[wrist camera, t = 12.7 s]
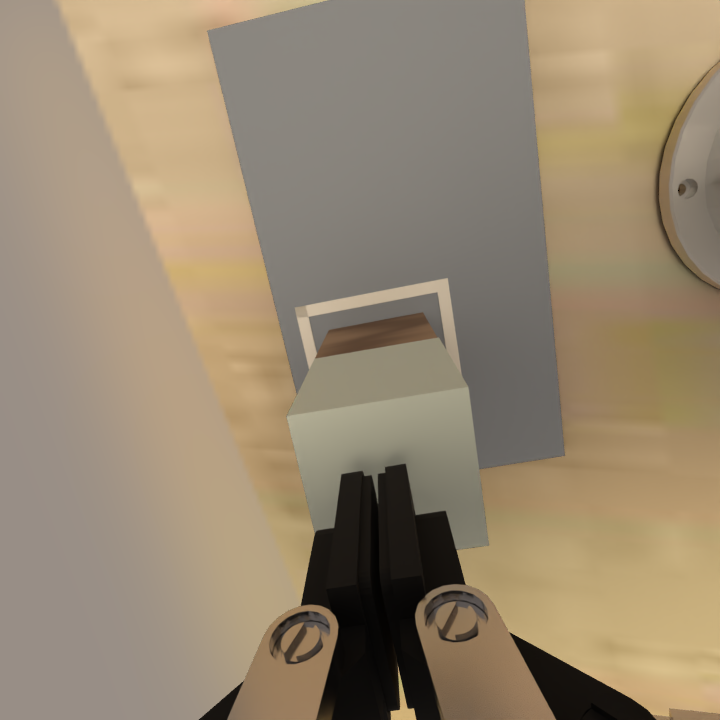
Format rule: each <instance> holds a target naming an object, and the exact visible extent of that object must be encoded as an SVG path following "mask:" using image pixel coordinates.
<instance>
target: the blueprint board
mask: <svg viewBox="0 0 720 720" xmlns="http://www.w3.org/2000/svg"><path fill="white" fill-rule="evenodd" d="M207 32H208V36H209V40H210V44H211V48H212V52H213V56H214V60H215V64H216V69H217V73H218V77H219V81H220V85H221V89H222V93H223V97H224V101H225V105H226V109H227V113H228V117H229V121H230V125H231V129H232V133H233V137H234V141H235V145H236V150H237V154H238V158H239V162H240V166H241V170H242V174H243V178H244V182H245V186H246V190H247V194H248V198H249V202H250V206H251V210H252V214H253V218H254V222H255V226H256V230H257V235H258V239H259V243H260V247H261V251H262V255H263V259H264V263H265V267H266V271H267V275H268V279H269V283H270V287H271V291H272V295H273V299H274V303H275V307H276V311H277V316H278V320H279V324H280V328H281V332H282V336H283V340H284V344H285V348H286V352H287V356H288V360H289V364H290V368H291V372H292V376H293V380H294V384H295V388H296V392H297V394H298V392H299V390H300V388H301V386H302V384H303V381H304V379H305V377H306V375H307V373H308V371H309V369H310V367H311V365H312V363H313V361H314V359H315V357H316V355H317V353H318V351H319V349H320V347H321V345H322V343H323V341H324V339H325V337H326V335H327V333H328V331H329V330H331V329H336V328H342V327H347V326H352V325H358V324H363V323H368V322H374V321H379V320H384V319H390V318H395V317H400V316H405V315H411V314H416V313H421V312H423V313H424V315H425V317H426V319H427V320H428V322H429V324H430V326H431V327H432V329H433V331H434V332H435V334H436V336H437V338H438V337H439V338H440V340H441V342H442V343H443V345H444V347H445V349H446V350H447V352H448V354H449V355H450V357H451V359H452V360H453V362H454V364H455V365H456V367H457V369H458V370H459V372H460V374H461V375H462V377H463V379H464V380H465V382H466V384H467V385H468V388H469V395H470V403H471V411H472V418H473V426H474V434H475V441H476V449H477V457H478V465H479V469H484V468H490V467H496V466H503V465H509V464H515V463H522V462H528V461H534V460H541V459H547V458H554V457H560V456H565V452H564V441H563V430H562V418H561V407H560V396H559V385H558V373H557V362H556V351H555V340H554V328H553V317H552V306H551V294H550V283H549V272H548V261H547V249H546V238H545V227H544V216H543V204H542V193H541V182H540V171H539V159H538V148H537V137H536V125H535V114H534V103H533V92H532V80H531V69H530V58H529V47H528V35H527V24H526V13H525V1H524V0H328V1H324V2H320V3H316V4H312V5H308V6H304V7H300V8H296V9H292V10H288V11H284V12H280V13H276V14H272V15H268V16H264V17H260V18H256V19H252V20H248V21H244V22H240V23H236V24H232V25H228V26H224V27H220V28H216V29H212V30H208V31H207Z"/></svg>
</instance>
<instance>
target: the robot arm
mask: <svg viewBox="0 0 720 720" xmlns="http://www.w3.org/2000/svg"><path fill="white" fill-rule="evenodd" d="M679 187H680V193H678V188H679ZM659 203H660V209H661V214H662V220H663V225H664V227H665V230H666V232H667V235H668V237H669V240H670V242H671V245H672V247H673V248H674V250H675V251H676V253H677V254H678V255H679V257H680V258H681V260H682V261H683V263H684V264H685V265H686V266H687V267H688V268H689V269H690V270H691V271H693V272H694V273H695V274H696V275H697V276H698V277H699V278H700V279H702V280H704V281H705V282H707V283H709V284H711V285H712V286H714V287H716V288H718V289H720V62H719V63H717V64H716V65H715V66H714V67H713V68H712V69H711V70H710V71H709V72H708V73H707V75H706V76H705V77H704V78H703V80H702V81H701V82H700V83H699V85H698V86H697V87H696V88H695V89H694V91H693V92H692V93H691V95H690V96H689V98H688V100H687V101H686V103H685V105H684V107H683V108H682V110H681V112H680V113H679V115H678V117H677V119H676V120H675V123H674V126H673V128H672V131H671V133H670V136H669V138H668V141H667V144H666V146H665V150H664V155H663V160H662V165H661V170H660V179H659ZM397 662H398V663H397ZM398 667H399V671H400V676H401V680H402V685H403V690H404V694H405V699H406V703H407V707H408V709H411V708H414V710H415V715H416V719H417V720H720V714H717V713H707V712H698V711H689V710H679V709H670V708H669V716H670V717H666V716H657V715H652V714H651V713H650V712H649V711H648V710H647V709H645V708H644V707H643V706H641V705H640V704H638V703H637V702H635V701H634V700H632V699H631V698H629V697H627V696H626V695H624V694H622V693H620V692H618V691H616V690H615V689H613V688H611V687H609V686H607V685H605V684H603V683H602V682H600V681H598V680H596V679H594V678H592V677H591V676H589V675H587V674H585V673H583V672H581V671H580V670H578V669H576V668H574V667H572V666H570V665H569V664H567V663H565V662H563V661H561V660H559V659H558V658H556V657H554V656H552V655H550V654H548V653H547V652H545V651H543V650H541V649H539V648H537V647H536V646H534V645H532V644H530V643H528V642H526V641H525V640H523V639H521V638H519V637H517V636H515V635H513V634H512V633H510V632H509V631H508V629H507V627H506V625H505V624H504V622H503V620H502V618H501V616H500V614H499V612H498V610H497V609H496V607H495V605H494V603H493V602H492V601H491V600H490V598H489V597H488V596H487V595H486V594H484V593H483V592H481V591H480V590H479V589H476V588H473V587H470V586H468V585H465V581H464V577H463V573H462V570H461V566H460V562H459V558H458V555H457V551H456V547H455V543H454V539H453V536H452V532H451V528H450V524H449V520H448V517H447V513H446V511H439V512H432V513H426V514H419V515H416V514H415V509H414V503H413V498H412V493H411V488H410V482H409V477H408V472H407V467H406V464H400V465H394V466H388V467H385V473H380V474H378V501H377V497H376V492H375V487H374V482H373V478H372V475H368V476H364V473H363V471H357V472H351V473H345V474H341V480H340V487H339V495H338V502H337V510H336V517H335V525H334V528H329V529H323V530H317V531H316V533H315V536H314V541H313V546H312V551H311V556H310V562H309V567H308V572H307V577H306V582H305V587H304V592H303V598H302V603H301V606H299V607H297V608H294V609H291V610H289V611H287V612H286V613H284V614H282V615H281V616H279V617H278V618H277V619H276V620H275V621H274V622H273V623H272V624H271V625H270V626H269V628H268V629H267V631H266V633H265V634H264V636H263V638H262V641H261V643H260V645H259V647H258V650H257V652H256V654H255V656H254V659H253V661H252V664H251V666H250V668H249V670H248V673H247V675H246V677H245V679H244V681H243V682H242V683H241V684H240V685H238V686H237V687H236V688H235V689H234V690H233V691H231V692H230V693H229V694H228V695H227V696H226V697H225V698H223V699H222V700H221V701H220V702H219V703H218V704H216V706H214V707H213V708H212V709H211V710H210V711H209V712H207V713H206V714H205V715H204V716H203V717H202V718H200V719H199V720H391V712H390V711H394V710H399V709H400V698H399V681H398Z"/></svg>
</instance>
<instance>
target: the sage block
mask: <svg viewBox="0 0 720 720" xmlns="http://www.w3.org/2000/svg"><path fill="white" fill-rule="evenodd" d="M286 417H287V421H288V425H289V429H290V433H291V437H292V441H293V446H294V450H295V454H296V458H297V462H298V466H299V470H300V474H301V478H302V482H303V487H304V491H305V495H306V499H307V503H308V507H309V511H310V515H311V519H312V524H313V528H314V532H315V533H316V531H317V530H323V529H329V528H334V525H335V517H336V510H337V502H338V495H339V487H340V480H341V474H345V473H351V472H357V471H363V473H364V476H368V475H372V478H373V482H374V487H375V492H376V497H377V501H378V474H380V473H385V467H388V466H394V465H400V464H406V467H407V472H408V477H409V482H410V488H411V493H412V498H413V503H414V509H415V514H416V515H419V514H426V513H432V512H439V511H446V513H447V517H448V520H449V524H450V528H451V532H452V536H453V539H454V543H455V547H456V550H459V549H467V548H474V547H482V546H489V541H488V534H487V526H486V518H485V511H484V503H483V495H482V488H481V480H480V472H479V465H478V457H477V449H476V441H475V434H474V426H473V418H472V411H471V403H470V395H469V388H468V385H467V384H466V382H465V380H464V379H463V377H462V375H461V374H460V372H459V370H458V369H457V367H456V365H455V364H454V362H453V360H452V359H451V357H450V355H449V354H448V352H447V350H446V349H445V347H444V345H443V343H442V342H441V340H440V338H439V337H438V338H432V339H426V340H421V341H415V342H409V343H403V344H397V345H391V346H386V347H380V348H374V349H368V350H362V351H356V352H351V353H345V354H339V355H333V356H327V357H321V358H315V359H314V361H313V363H312V365H311V367H310V369H309V371H308V373H307V375H306V377H305V379H304V381H303V384H302V386H301V388H300V390H299V392H298V394H297V396H296V398H295V400H294V402H293V404H292V406H291V408H290V410H289V412H288V414H287V416H286Z"/></svg>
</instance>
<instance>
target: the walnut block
mask: <svg viewBox="0 0 720 720" xmlns="http://www.w3.org/2000/svg"><path fill="white" fill-rule="evenodd" d="M432 338H437V336H436V334H435V332H434V331H433V329H432V327H431V326H430V324H429V322H428V320H427V319H426V317H425V315H424V313H423V312H421V313H416V314H411V315H405V316H400V317H395V318H390V319H384V320H379V321H374V322H368V323H363V324H358V325H352V326H347V327H342V328H336V329H331V330H329V331H328V333H327V335H326V337H325V339H324V341H323V343H322V345H321V347H320V349H319V351H318V353H317V355H316V357H315V358H321V357H327V356H333V355H339V354H345V353H351V352H356V351H362V350H368V349H374V348H380V347H386V346H391V345H397V344H403V343H409V342H415V341H421V340H426V339H432Z"/></svg>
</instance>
